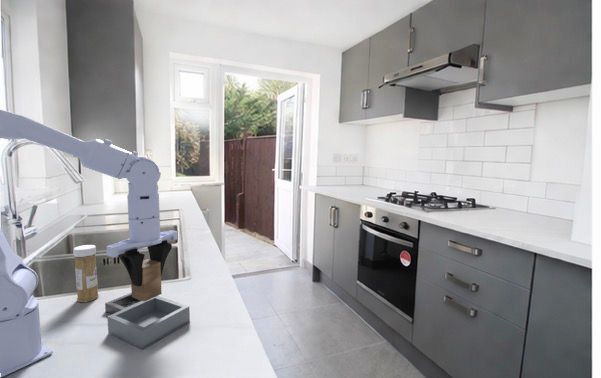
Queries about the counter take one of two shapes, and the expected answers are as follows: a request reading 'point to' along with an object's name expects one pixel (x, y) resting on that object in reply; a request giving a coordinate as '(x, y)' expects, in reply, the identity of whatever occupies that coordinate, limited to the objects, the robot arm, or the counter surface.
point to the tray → (148, 321)
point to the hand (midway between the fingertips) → (147, 280)
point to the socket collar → (120, 303)
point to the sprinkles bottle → (86, 273)
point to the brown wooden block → (148, 281)
